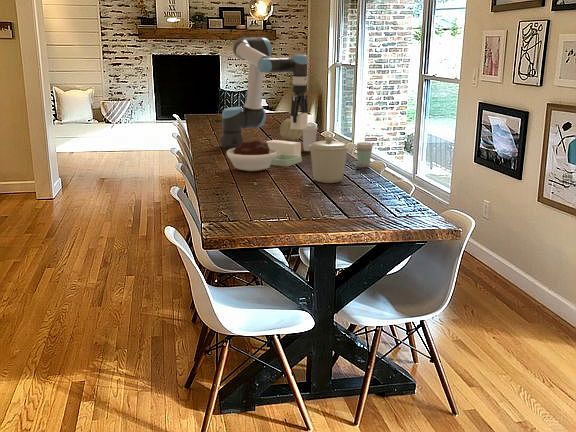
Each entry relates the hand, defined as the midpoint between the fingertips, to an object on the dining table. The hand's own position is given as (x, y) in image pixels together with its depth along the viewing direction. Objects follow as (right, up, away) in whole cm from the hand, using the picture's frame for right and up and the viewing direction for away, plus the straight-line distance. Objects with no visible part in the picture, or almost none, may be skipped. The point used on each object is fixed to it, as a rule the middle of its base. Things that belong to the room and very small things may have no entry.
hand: (299, 127), depth 336 cm
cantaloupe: (-4, 0, +66) cm, 66 cm away
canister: (+12, -31, -47) cm, 58 cm away
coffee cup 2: (+33, -22, -12) cm, 42 cm away
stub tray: (-8, -19, -5) cm, 22 cm away
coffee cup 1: (+6, -9, +34) cm, 35 cm away
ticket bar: (-9, -14, +14) cm, 22 cm away
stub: (0, 0, 0) cm, 0 cm away
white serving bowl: (-24, -25, -23) cm, 41 cm away
